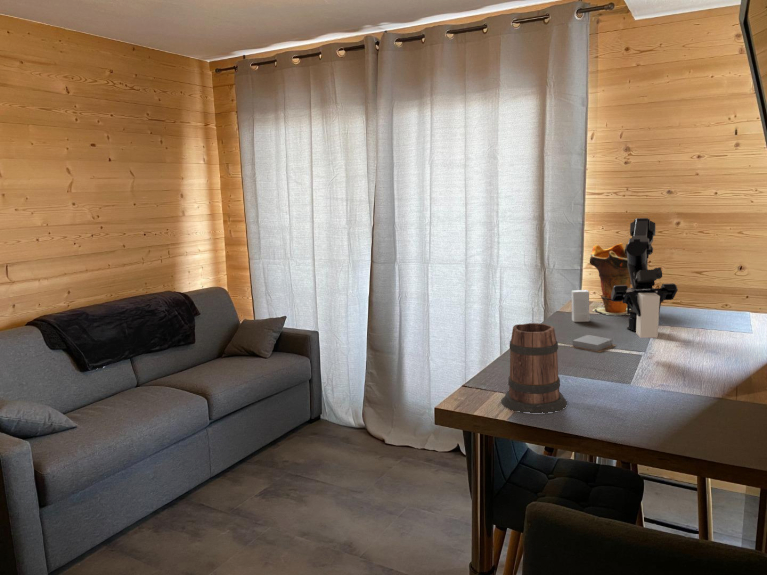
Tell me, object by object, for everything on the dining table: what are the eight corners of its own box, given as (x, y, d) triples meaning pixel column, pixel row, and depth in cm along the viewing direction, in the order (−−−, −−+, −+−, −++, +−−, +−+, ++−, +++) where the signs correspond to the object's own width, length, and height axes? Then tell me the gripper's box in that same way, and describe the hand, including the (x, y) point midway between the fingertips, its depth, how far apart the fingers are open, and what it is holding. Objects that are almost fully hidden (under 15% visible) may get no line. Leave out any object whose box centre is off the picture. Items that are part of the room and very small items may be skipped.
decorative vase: (609, 318, 238) (608, 247, 235) (579, 310, 261) (577, 244, 257) (656, 313, 242) (656, 243, 239) (622, 305, 265) (622, 241, 261)
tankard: (561, 418, 146) (561, 337, 143) (493, 409, 154) (491, 333, 150) (577, 386, 167) (577, 315, 163) (516, 380, 174) (515, 312, 171)
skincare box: (586, 319, 241) (587, 289, 239) (589, 321, 237) (589, 291, 235) (571, 319, 241) (571, 290, 239) (573, 322, 237) (573, 292, 235)
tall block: (635, 333, 192) (637, 292, 189) (652, 333, 191) (654, 292, 189) (640, 337, 187) (642, 296, 184) (657, 337, 186) (659, 296, 184)
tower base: (586, 345, 208) (586, 339, 208) (617, 350, 200) (617, 344, 200) (568, 352, 201) (568, 346, 201) (599, 358, 193) (599, 352, 192)
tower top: (587, 340, 206) (587, 334, 206) (612, 345, 199) (612, 339, 199) (572, 346, 201) (572, 340, 200) (597, 351, 194) (597, 345, 193)
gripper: (613, 260, 190) (622, 302, 181) (676, 257, 187) (688, 300, 179) (607, 280, 199) (615, 321, 190) (667, 278, 197) (678, 319, 188)
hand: (648, 315), depth 186 cm, fingers closed on tall block, 5 cm apart
